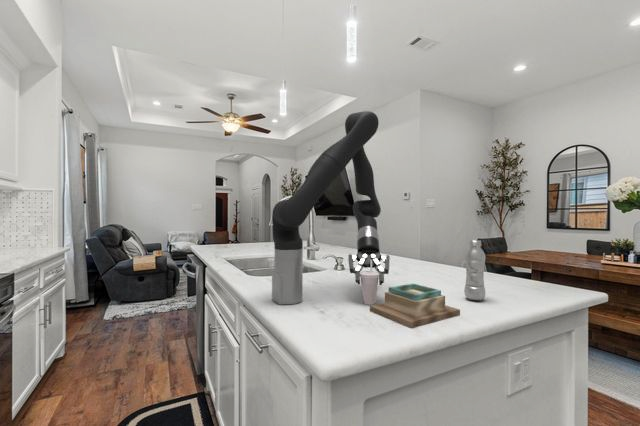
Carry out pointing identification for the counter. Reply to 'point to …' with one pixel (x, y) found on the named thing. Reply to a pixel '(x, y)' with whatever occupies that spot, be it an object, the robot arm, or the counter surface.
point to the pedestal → (414, 305)
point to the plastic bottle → (475, 271)
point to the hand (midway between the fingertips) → (369, 283)
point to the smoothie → (369, 285)
